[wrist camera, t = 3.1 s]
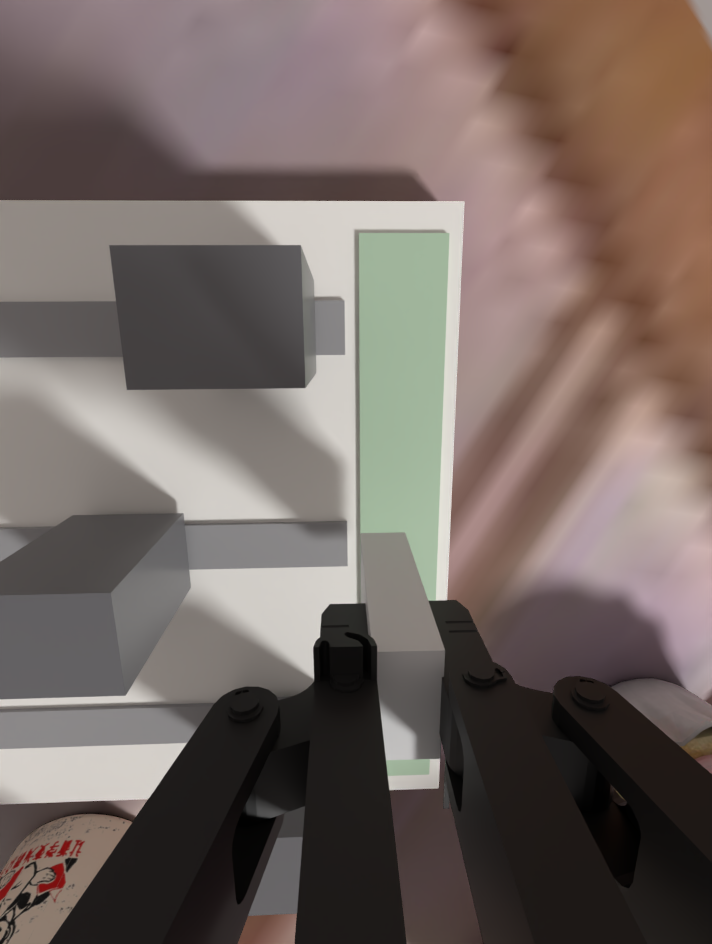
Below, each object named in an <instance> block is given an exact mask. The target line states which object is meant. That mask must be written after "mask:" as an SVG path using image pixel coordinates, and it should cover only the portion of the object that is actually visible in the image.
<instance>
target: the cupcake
mask: <svg viewBox="0 0 712 944" xmlns="http://www.w3.org/2000/svg"><path fill="white" fill-rule="evenodd" d="M611 688H612V689H614V690H615V691H617V692H618V693H619V694H620V695H621V696H622V697H624V698H625V699H626V700H627V701H628V702H629V703H630V704H632V705H633V706H634V707H635V708H636V709H637V710H639V711H640V712H641V713H642V714H643V715H644V716H645V717H647V718H648V719H649V720H650V721H651V722H652V723H653V724H655V725H656V726H657V727H658V728H659V729H660V730H662V731H663V732H664V733H665V734H666V735H667V736H668V737H670V738H671V739H672V740H673V741H674V742H675V743H677V744H678V745H679V746H680V747H681V748H682V749H683V750H685V751H686V752H687V753H688V754H689V755H690V756H691V757H693V758H694V759H695V760H696V761H697V762H698V763H700V764H701V765H702V766H703V767H704V768H705V769H706V770H708V771H709V772H710V773H711V774H712V705H710V704H709V703H707V702H706V701H704V700H702V699H701V698H699V697H698V696H696V695H694V694H693V693H691V692H689V691H688V690H686V689H684V688H682V687H680V686H678V685H676V684H673V683H670V682H667V681H663V680H659V679H655V678H643V679H634V680H629V681H625V682H621V683H618V684H616V685H614V686H612V687H611ZM614 790H615V788H614ZM615 791H616V790H615ZM616 792H617V791H616ZM617 793H618V792H617ZM618 794H619V793H618ZM619 795H620V794H619ZM620 796H621V795H620ZM621 797H622V796H621ZM622 798H623V797H622ZM623 799H624V798H623Z"/></svg>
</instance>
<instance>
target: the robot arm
mask: <svg viewBox="0 0 712 944" xmlns="http://www.w3.org/2000/svg"><path fill="white" fill-rule="evenodd" d="M360 538H361V603H358V604H329V606H328V607H327V608H326V609H325V610H324V612H323V613H322V614H321V628H320V638H318V639H317V640H316V642H315V644H314V647H313V659H314V682H313V683H312V685H310V686H309V687H308V688H307V689H306V690H304V691H303V692H301V693H299V694H297V695H294V696H292V697H289V698H285V699H281V700H278V699H277V696H276V695H275V694H273V693H272V692H271V691H270V690H268V689H265V688H262V687H242V688H238V689H234V690H232V691H230V692H228V693H226V694H225V695H223V696H221V697H220V699H219V700H218V701H217V702H216V703H215V704H214V705H213V706H212V708H211V709H210V711H209V712H208V713H207V715H206V716H205V718H204V719H203V721H202V722H201V724H200V725H199V726H198V728H197V729H196V731H195V732H194V734H193V735H192V737H191V738H190V740H189V741H188V742H187V744H186V745H185V747H184V748H183V750H182V751H181V753H180V754H179V755H178V757H177V758H176V760H175V761H174V763H173V764H172V766H171V767H170V769H169V770H168V771H167V773H166V774H165V776H164V777H163V779H162V780H161V782H160V783H159V784H158V786H157V787H156V789H155V790H154V792H153V793H152V795H151V796H150V798H149V799H148V800H147V802H146V803H145V805H144V806H143V808H142V809H141V811H140V812H139V813H138V815H137V816H136V818H135V819H134V821H133V822H132V824H131V825H130V827H129V828H128V829H127V831H126V832H125V834H124V835H123V837H122V838H121V840H120V841H119V842H118V844H117V845H116V847H115V848H114V850H113V851H112V853H111V854H110V856H109V857H108V858H107V860H106V861H105V863H104V864H103V866H102V867H101V869H100V870H99V871H98V873H97V874H96V876H95V877H94V879H93V880H92V882H91V883H90V885H89V886H88V887H87V889H86V890H85V892H84V893H83V895H82V896H81V898H80V899H79V900H78V902H77V903H76V905H75V906H74V908H73V909H72V911H71V912H70V914H69V915H68V916H67V918H66V919H65V921H64V922H63V924H62V925H61V927H60V928H59V929H58V931H57V932H56V934H55V935H54V937H53V938H52V940H51V941H50V943H49V944H237V943H238V941H239V938H240V935H241V933H242V930H243V927H244V925H245V922H246V919H247V917H248V914H249V912H250V909H251V906H252V904H253V901H254V898H255V896H256V893H257V890H258V888H259V885H260V882H261V880H262V877H263V874H264V872H265V869H266V866H267V864H268V861H269V858H270V856H271V853H272V850H273V848H274V845H275V842H276V840H277V837H278V834H279V832H280V829H281V826H282V824H283V820H284V814H285V813H287V812H290V811H293V810H296V809H298V808H301V807H304V806H305V813H304V826H303V840H302V853H301V866H300V880H299V893H298V907H297V920H296V933H295V944H406V935H405V926H404V917H403V908H402V899H401V890H400V881H399V872H398V863H397V854H396V845H395V836H394V827H393V818H392V810H391V801H390V792H389V783H388V774H387V765H386V760H414V759H440V754H441V741H442V745H443V749H444V753H445V777H444V798H443V809H445V808H449V799H450V803H451V808H452V812H453V816H454V820H455V825H456V829H457V833H458V837H459V842H460V846H461V850H462V854H463V859H464V863H465V867H466V872H467V876H468V880H469V884H470V889H471V893H472V897H473V901H474V906H475V910H476V914H477V918H478V923H479V927H480V931H481V935H482V940H483V944H712V774H711V773H710V772H709V771H708V770H706V769H705V768H704V767H703V766H702V765H701V764H700V763H698V762H697V761H696V760H695V759H694V758H693V757H691V756H690V755H689V754H688V753H687V752H686V751H685V750H683V749H682V748H681V747H680V746H679V745H678V744H677V743H675V742H674V741H673V740H672V739H671V738H670V737H668V736H667V735H666V734H665V733H664V732H663V731H662V730H660V729H659V728H658V727H657V726H656V725H655V724H653V723H652V722H651V721H650V720H649V719H648V718H647V717H645V716H644V715H643V714H642V713H641V712H640V711H639V710H637V709H636V708H635V707H634V706H633V705H632V704H630V703H629V702H628V701H627V700H626V699H625V698H624V697H622V696H621V695H620V694H619V693H618V692H617V691H615V690H614V689H612V688H611V687H609V686H608V685H606V684H604V683H602V682H599V681H597V680H594V679H591V678H586V677H580V676H575V677H566V678H563V679H561V680H559V681H558V682H557V683H556V685H555V686H554V691H553V693H548V692H543V691H538V690H533V689H529V688H525V687H522V686H519V685H517V684H515V682H514V680H513V678H512V676H511V675H510V674H509V673H508V671H507V670H506V669H505V668H503V667H501V666H500V665H498V664H497V663H494V662H492V659H491V657H490V655H489V653H488V651H487V649H486V647H485V645H484V643H483V640H482V638H481V636H480V634H479V632H478V631H477V628H476V626H475V624H474V623H473V619H472V617H471V615H470V613H469V611H468V609H466V608H465V607H464V606H463V605H461V604H460V603H459V602H458V601H456V600H437V601H428V598H427V595H426V593H425V590H424V587H423V584H422V581H421V578H420V575H419V572H418V569H417V566H416V563H415V560H414V557H413V554H412V551H411V548H410V545H409V542H408V539H407V536H406V534H405V532H397V533H360ZM614 788H615V790H616V791H617V792H618V793H619V794H620V795H621V796H622V797H623V798H624V799H623V798H622V797H621V796H620V795H619V794H618V793H617V792H616V791H615V790H614Z"/></svg>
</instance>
